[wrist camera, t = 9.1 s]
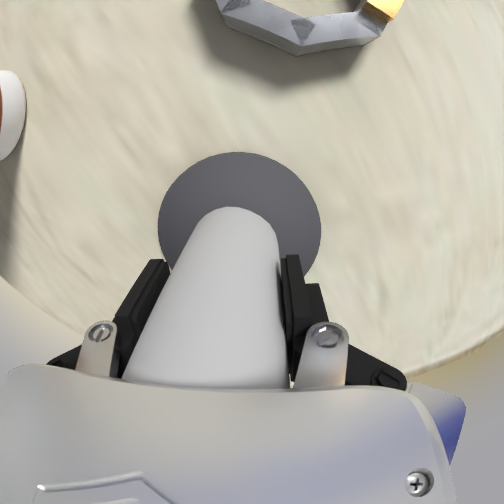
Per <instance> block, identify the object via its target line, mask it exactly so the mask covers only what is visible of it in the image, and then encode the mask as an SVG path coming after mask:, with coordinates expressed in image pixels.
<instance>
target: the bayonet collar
mask: <svg viewBox="0 0 504 504" xmlns="http://www.w3.org/2000/svg"><path fill="white" fill-rule="evenodd" d="M403 2H404V0H360V2H359V3H358V5H357V6H356V8H355V10H354V11H353V12H347V13H336V14H328V15H320V16H313V17H307V18H303V17H300V16H298V15H296V14H294V13H292V12H289V11H287V10H285V9H282V8H280V7H278V6H275V5H273V4H270V3H268V2H265V1H262V0H216V3H217V5H218V7H219V10H220V12H221V15H222V18H223V20H224V22H225V24H226V26H227V28H230V29H233V30H236V31H239V32H241V33H244V34H246V35H249V36H252V37H254V38H256V39H259V40H261V41H264V42H266V43H268V44H271V45H273V46H275V47H277V48H279V49H282V50H284V51H286V52H288V53H290V54H292V55H294V56H300V55H305V54H310V53H315V52H320V51H326V50H332V49H339V48H346V47H354V46H364V45H366V44H367V43H369V42H371V41H373V40H374V39H376V38H378V37H380V35H381V33H382V32H383V30H384V28H385V26H386V25H387V23H388V22H390V21H391V20H393V19H394V18H395V16H396V14H397V12H398V11H399V9H400V7H401V5H402V3H403Z"/></svg>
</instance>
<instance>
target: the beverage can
mask: <svg viewBox="0 0 504 504" xmlns="http://www.w3.org/2000/svg"><path fill="white" fill-rule="evenodd" d="M121 379H125V380H132V381H139V382H146V383H154V384H163V385H173V386H184V387H198V388H217V389H290V379H289V364H288V350H287V345H286V333H285V320H284V308H283V296H282V285H281V268H280V258H279V248H278V241H277V237H276V234H275V232H274V230H273V229H272V227H271V225H270V224H269V223H268V222H267V221H266V220H264V219H263V218H262V217H261V216H259V215H257V214H255V213H253V212H251V211H249V210H246V209H243V208H239V207H223V208H219V209H215V210H213V211H212V212H210V213H208V214H206V215H205V216H204V217H203V218H202V219H201V220H200V221H199V222H198V224H197V225H196V227H195V229H194V231H193V233H192V234H191V236H190V238H189V240H188V242H187V243H186V245H185V247H184V249H183V251H182V253H181V255H180V257H179V258H178V260H177V262H176V264H175V266H174V268H173V270H172V272H171V274H170V276H169V278H168V280H167V282H166V284H165V286H164V288H163V290H162V292H161V294H160V296H159V298H158V300H157V302H156V304H155V306H154V308H153V310H152V312H151V314H150V316H149V318H148V320H147V323H146V325H145V327H144V329H143V331H142V333H141V335H140V338H139V340H138V342H137V344H136V346H135V349H134V351H133V353H132V355H131V358H130V360H129V362H128V364H127V367H126V369H125V371H124V374H123V376H122V378H121Z"/></svg>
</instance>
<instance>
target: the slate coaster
mask: <svg viewBox="0 0 504 504" xmlns="http://www.w3.org/2000/svg"><path fill="white" fill-rule="evenodd" d="M223 207H239V208H243V209H246V210H249V211H251V212H253V213H255V214H257V215H259V216H261V217H262V218H263V219H264V220H266V221H267V222H268V223H269V224H270V225H271V227H272V229H273V230H274V232H275V234H276V237H277V241H278V248H279V258H280V268H281V258H286V255H290V254H299V258H300V262H301V267H302V271H303V276H305V275H306V273H307V272H308V271H309V269H310V268H311V266H312V264H313V263H314V260H315V258H316V256H317V253H318V249H319V246H320V239H321V223H320V217H319V213H318V210H317V206H316V204H315V202H314V200H313V198H312V196H311V194H310V192H309V190H308V189H307V188H306V186H305V185H304V183H303V182H302V181H301V180H300V179H299V178H298V177H297V176H296V175H295V174H294V173H293V172H292V171H291V170H289V169H288V168H287V167H285V166H283V165H282V164H280V163H279V162H277V161H275V160H272V159H270V158H268V157H265V156H261V155H257V154H253V153H245V152H230V153H223V154H218V155H215V156H211V157H208V158H206V159H204V160H201V161H199V162H198V163H196V164H194V165H193V166H191V167H190V168H188V169H187V170H186V171H185V172H184V173H182V174H181V175H180V176H179V177H178V178H177V179H176V180H175V182H174V183H173V184H172V185H171V187H170V188H169V190H168V191H167V193H166V195H165V197H164V199H163V201H162V204H161V208H160V211H159V217H158V236H159V242H160V245H161V249H162V252H163V254H164V256H165V258H166V260H167V262H168V264H169V265H170V267H171V268H172V270H173V268H174V266H175V264H176V262H177V260H178V258H179V257H180V255H181V253H182V251H183V249H184V247H185V245H186V243H187V242H188V240H189V238H190V236H191V234H192V233H193V231H194V229H195V227H196V225H197V224H198V222H199V221H200V220H201V219H202V218H203V217H204V216H205V215H206V214H208V213H210V212H212V211H213V210H215V209H219V208H223Z"/></svg>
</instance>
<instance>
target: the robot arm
mask: <svg viewBox="0 0 504 504" xmlns="http://www.w3.org/2000/svg"><path fill="white" fill-rule="evenodd" d="M169 276H170V270H169V266H168V263H167V262H164V260H163V259H150V260H149V262H148V263H147V265H146V267H145V268H144V270H143V271H142V273H141V274H140V276H139V277H138V279H137V280H136V282H135V283H134V285H133V287H132V288H131V290H130V291H129V293H128V295H127V296H126V298H125V299H124V301H123V303H122V304H121V306H120V308H119V309H118V311H117V313H116V314H115V318H114V319H113V321H100V322H97V323H95V324H93V325H92V326H90V327H89V329H88V330H87V331H86V333H85V336H84V340H83V343H82V345H80V346H78V347H76V348H74V349H72V350H70V351H68V352H66V353H64V354H62V355H60V356H58V357H56V358H54V359H52V360H50V361H49V362H48V363H47V364H46V365H43V364H30V365H23V366H19V367H16V368H14V369H12V370H11V371H10V372H9V373H8V374H7V375H6V376H5V377H4V379H3V380H2V381H1V383H0V504H457V499H456V494H455V489H454V484H453V480H452V475H451V470H450V464H451V461H452V458H453V455H454V452H455V449H456V446H457V443H458V440H459V436H460V432H461V429H462V425H463V422H464V417H465V413H466V407H465V404H464V402H463V400H462V399H461V398H459V397H458V396H456V395H453V394H450V393H447V392H444V391H442V390H439V389H436V388H433V387H430V386H428V385H425V384H422V383H419V382H417V381H414V382H413V383H410V382H407V380H406V378H405V376H404V375H403V373H402V372H401V371H399V370H398V369H396V368H394V367H392V366H390V365H388V364H386V363H384V362H382V361H380V360H379V359H377V358H375V357H373V356H371V355H369V354H367V353H365V352H363V351H361V350H359V349H357V348H356V347H354V346H352V345H350V344H348V343H349V336H348V333H347V331H346V329H345V328H343V327H342V326H341V325H339V324H337V323H333V322H329V320H328V316H327V312H326V308H325V305H324V301H323V297H322V294H321V290H320V286H319V284H318V283H312V284H305V281H304V276H303V271H302V267H301V262H300V258H299V254H290V255H286V258H281V285H282V296H283V308H284V320H285V333H286V345H287V350H288V364H289V374H290V378H291V381H293V382H294V386H293V388H291V389H217V388H198V387H184V386H173V385H163V384H154V383H146V382H139V381H132V380H125V379H121V378H122V376H123V374H124V371H125V369H126V367H127V364H128V362H129V360H130V358H131V355H132V353H133V351H134V349H135V346H136V344H137V342H138V340H139V338H140V335H141V333H142V331H143V329H144V327H145V325H146V323H147V320H148V318H149V316H150V314H151V312H152V310H153V308H154V306H155V304H156V302H157V300H158V298H159V296H160V294H161V292H162V290H163V288H164V286H165V284H166V282H167V280H168V278H169Z"/></svg>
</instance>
